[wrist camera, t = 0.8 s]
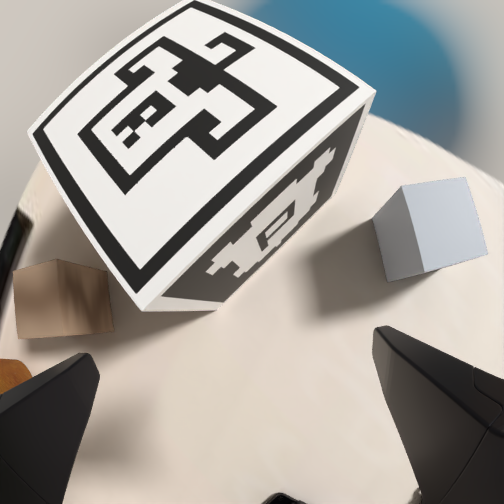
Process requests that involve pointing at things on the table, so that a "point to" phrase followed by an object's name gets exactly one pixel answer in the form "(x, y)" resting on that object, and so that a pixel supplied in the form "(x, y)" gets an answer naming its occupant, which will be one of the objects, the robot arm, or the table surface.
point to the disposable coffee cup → (12, 374)
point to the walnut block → (61, 300)
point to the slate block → (428, 228)
